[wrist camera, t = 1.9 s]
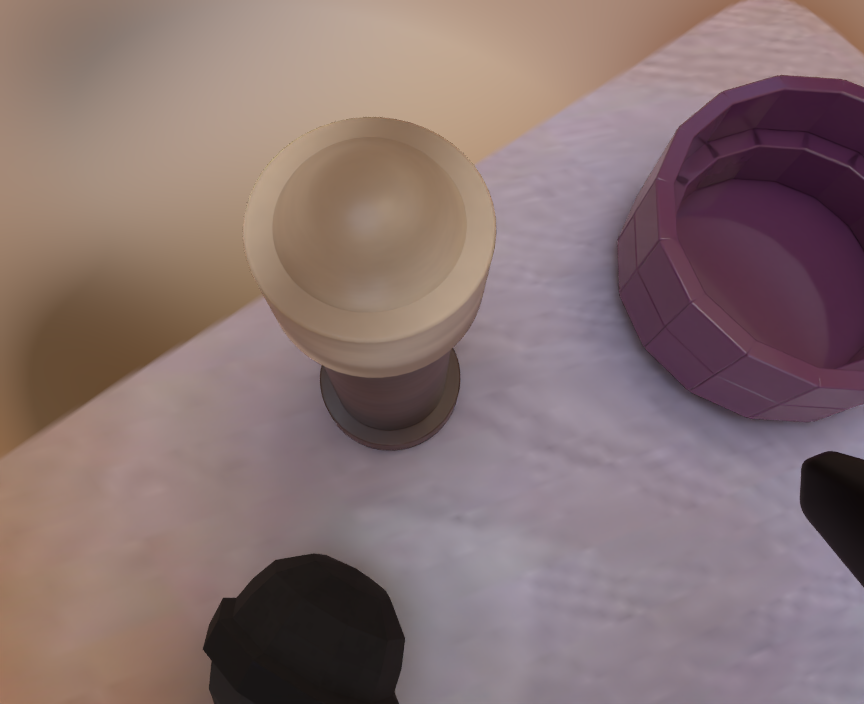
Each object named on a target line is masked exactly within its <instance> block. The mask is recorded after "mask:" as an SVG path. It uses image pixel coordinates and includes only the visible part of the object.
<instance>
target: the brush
mask: <svg viewBox="0 0 864 704" xmlns="http://www.w3.org/2000/svg"><path fill="white" fill-rule="evenodd" d="M495 240H496V216H495V211H494V206H493V202H492V199H491V196H490V193H489V190H488V188H487V186H486V184H485V182H484V180H483V178H482V176H481V175H480V173H479V172H478V170H477V169H476V168H475V166H474V165H473V163H472V162H471V161H470V160H469V159H468V158H467V157H466V156H465V155H464V153H462V152H461V151H460V150H459V149H458V148H457V147H456V146H454V145H453V144H452V143H451V142H449V141H448V140H446V139H444V138H443V137H442V136H440V135H438V134H436V133H434V132H432V131H430V130H428V129H426V128H424V127H421V126H418V125H416V124H413V123H410V122H405V121H401V120H397V119H390V118H382V117H380V118H379V117H363V118H352V119H346V120H341V121H337V122H333V123H330V124H327V125H324V126H321V127H318V128H316V129H314V130H312V131H310V132H308V133H306V134H304V135H302V136H301V137H299V138H297V139H296V140H294V141H292V142H291V143H290V144H289V145H288V146H286V147H285V148H284V149H282V150H281V151H280V152H279V153H278V154H277V155H276V156H275V157H274V158H273V159H272V160H271V161H270V162H269V164H268V165H267V166H266V168H265V169H264V170H263V172H262V173H261V174H260V176H259V178H258V180H257V181H256V183H255V185H254V187H253V189H252V192H251V194H250V197H249V199H248V202H247V207H246V210H245V215H244V223H243V244H244V250H245V255H246V259H247V263H248V265H249V268H250V271H251V274H252V276H253V278H254V279H255V281H256V283H257V285H258V287H259V289H260V290H261V292H262V294H263V296H264V298H265V299H266V301H267V303H268V305H269V306H270V308H271V310H272V312H273V314H274V315H275V317H276V319H277V321H278V322H279V324H280V326H281V328H282V329H283V331H284V332H285V334H286V335H287V336H288V338H289V339H290V340H291V341H292V342H293V343H294V344H295V345H296V346H297V347H298V348H299V350H300V351H302V352H303V353H304V354H306V355H307V356H308V357H310V358H311V359H312V360H314V361H316V362H318V363H319V364H321V365H322V366H321V371H320V386H321V393H322V397H323V400H324V403H325V405H326V407H327V409H328V411H329V413H330V415H331V417H332V418H333V420H334V421H335V423H336V424H337V425H338V427H339V428H340V429H341V430H342V431H343V432H344V433H345V434H346V435H348V436H349V437H350V438H351V439H353V440H355V441H357V442H358V443H360V444H362V445H365V446H367V447H371V448H374V449H380V450H401V449H406V448H410V447H413V446H416V445H418V444H421V443H422V442H424V441H426V440H428V439H429V438H431V437H432V436H433V435H435V434H436V433H437V432H438V431H439V430H440V429H441V428H442V427H443V426H444V424H445V423H446V422H447V420H448V419H449V417H450V415H451V414H452V412H453V409H454V407H455V404H456V400H457V396H458V392H459V387H460V368H459V363H458V359H457V356H456V353H455V351H454V349H453V347H454V346H455V345H456V344H457V343H458V342H459V341H460V340H461V339H462V337H463V336H464V335H465V334H466V332H467V331H468V329H469V328H470V326H471V324H472V323H473V321H474V319H475V317H476V315H477V312H478V310H479V307H480V304H481V300H482V296H483V292H484V288H485V284H486V280H487V276H488V272H489V268H490V264H491V260H492V256H493V252H494V248H495Z"/></svg>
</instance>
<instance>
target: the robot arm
mask: <svg viewBox="0 0 864 704" xmlns="http://www.w3.org/2000/svg"><path fill="white" fill-rule="evenodd" d="M800 505H801V508H802V511H803V513H804V514H805V516H806V518H807V519H808V520H809V522H810V523H811V524H812V525H813V526H814V528H815V529H816V530H817V531H818V532H819V534H820V535H821V536H822V537H823V539H824V540H825V541H826V542H827V543H828V545H829V546H830V547H831V548H832V549H833V551H834V552H835V553H836V554H837V556H838V557H839V558H840V559H841V560H842V562H843V563H844V564H845V565H846V566H847V568H848V569H849V570H850V571H851V572H852V574H853V575H854V576H855V577H856V579H857V580H858V581H859V582H860V583H861V585H862V586H863V587H864V460H863V459H860V458H856V457H852V456H849V455H845V454H842V453H838V452H833V451H828V452H824V453H821V454H819V455H816V456H814V457H811V458H809V459H807V460H805V461H804V463H803V464H802V468H801V486H800Z"/></svg>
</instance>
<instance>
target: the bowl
mask: <svg viewBox="0 0 864 704" xmlns="http://www.w3.org/2000/svg"><path fill="white" fill-rule="evenodd" d="M617 243H618V276H619V292H620V294H619V296H620V298H621V300H622V302H623V304H624V306H625V308H626V311H627V313H628V315H629V317H630V319H631V321H632V323H633V326H634V328H635V330H636V332H637V334H638V336H639V339H640V341H641V343H642V345H643V347H645V349H646V350H647V351H648V352H649V353H650V354H651V355H652V356H653V357H654V358H655V359H656V360H657V361H658V362H659V363H660V364H661V365H662V366H664V367H665V368H666V369H667V370H668V371H669V372H670V373H671V374H672V375H673V376H674V377H675V378H676V379H677V380H678V381H679V382H680V383H681V384H682V385H683V386H684V387H685V388H686V389H687V390H689V391H690V392H691V393H694V394H696V395H698V396H700V397H702V398H705V399H707V400H709V401H711V402H713V403H716V404H718V405H720V406H722V407H724V408H727V409H729V410H731V411H733V412H735V413H738V414H740V415H742V416H744V417H746V418H751V419H766V420H781V421H797V422H811V421H813V422H814V421H817V420H820V419H822V418H825V417H828V416H831V415H834V414H836V413H839V412H842V411H845V410H847V409H850V408H853V407H856V406H858V405H861V404H864V87H862V86H860V85H857V84H854V83H852V82H849V81H847V80H842V79H834V78H819V77H804V76H789V75H780V76H778V75H777V76H774V77H770V78H767V79H763V80H760V81H757V82H753V83H750V84H746V85H743V86H739V87H736V88H732V89H729V90H725V91H723V92H721V93H719V94H718V95H717V96H715V97H714V98H713V99H712V100H711V101H709V102H708V103H707V104H706V105H705V106H703V107H702V108H701V109H700V110H699V111H697V112H696V113H695V114H694V115H692V116H691V117H690V118H689V119H688V120H686V121H685V122H684V123H683V124H682V125H680V126H679V128H678V129H677V130H676V132H675V133H674V135H673V137H672V138H671V140H670V142H669V143H668V145H667V147H666V148H665V150H664V152H663V153H662V155H661V157H660V158H659V160H658V162H657V163H656V165H655V167H654V168H653V170H652V172H651V173H650V175H649V177H648V178H647V180H646V182H645V183H644V185H643V187H642V188H641V190H640V192H639V193H638V195H637V197H636V199H635V201H634V204H633V206H632V208H631V210H630V213H629V215H628V217H627V219H626V222H625V224H624V226H623V228H622V231H621V233H620V235H619V237H618V242H617Z"/></svg>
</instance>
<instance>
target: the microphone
mask: <svg viewBox="0 0 864 704" xmlns="http://www.w3.org/2000/svg"><path fill="white" fill-rule="evenodd" d="M404 643H405V637H404V634H403V632H402V629H401V626H400V624H399V621H398V618H397V616H396V613H395V610H394V608H393V605H392V602H391V600H390V598H389V596H388V594H387V592H386V591H385V590H384V589H383V588H382V587H380V586H379V585H378V584H377V583H375V582H374V581H373V580H372V579H370V578H369V577H368V576H366V575H365V574H363V573H362V572H360V571H359V570H357V569H356V568H354V567H352V566H349V565H347V564H345V563H343V562H340V561H338V560H336V559H334V558H331V557H329V556H327V555H321V554H308V555H302V556H296V557H291V558H285V559H279V560H275V561H274V562H273V563H271V564H270V565H269V566H268V567H266V568H265V569H264V570H263V571H262V572H260V573H259V574H258V575H257V576H255V577H254V578H253V579H252V580H251V582H250V583H249V584H248V585H247V586H246V587H245V589H244V590H243V591H242V592H241V593H240V594H239V596H238V597H237V598H223V599H222V601H221V603H220V605H219V607H218V609H217V611H216V613H215V615H214V616H213V618H212V620H211V622H210V624H209V628H208V631H207V635H206V639H205V643H204V646H203V650H204V651H205V653H206V654H207V655H208V656H209V658H210V659H211V660H212V664H211V673H210V683H209V690H210V693H211V696H212V698H213V701H214V704H399V703H398V700H397V698H396V695H395V693H394V691H395V687H396V684H397V681H398V678H399V674H400V671H401V667H402V659H403V651H404Z"/></svg>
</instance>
